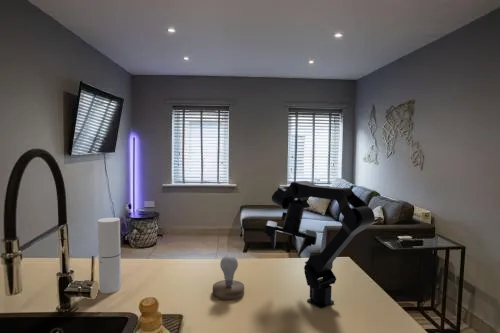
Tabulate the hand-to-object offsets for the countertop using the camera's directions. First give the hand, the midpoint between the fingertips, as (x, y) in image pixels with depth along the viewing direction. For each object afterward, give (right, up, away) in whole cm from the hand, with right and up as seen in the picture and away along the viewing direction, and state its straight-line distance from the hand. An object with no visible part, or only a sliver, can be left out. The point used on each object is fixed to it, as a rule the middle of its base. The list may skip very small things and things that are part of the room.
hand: (285, 252), depth 129 cm
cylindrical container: (-63, -12, -5) cm, 64 cm away
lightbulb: (-21, -10, -7) cm, 24 cm away
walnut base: (-21, -12, -7) cm, 25 cm away
